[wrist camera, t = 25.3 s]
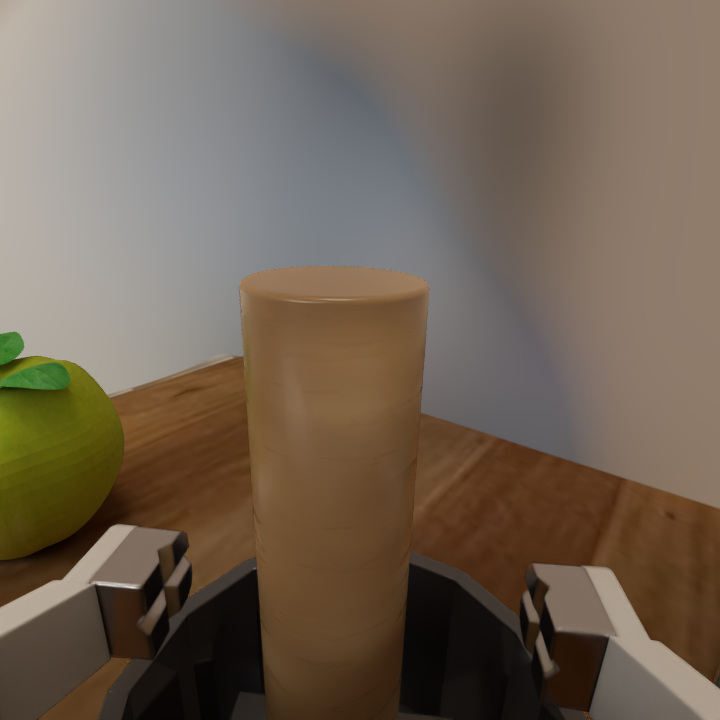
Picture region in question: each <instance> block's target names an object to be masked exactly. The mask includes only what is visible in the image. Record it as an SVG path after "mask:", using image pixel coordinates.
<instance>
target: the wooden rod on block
mask: <svg viewBox="0 0 720 720" xmlns="http://www.w3.org/2000/svg"><path fill="white" fill-rule="evenodd" d="M239 294H240V310H241V326H242V339H243V340H242V341H243V357H244V372H245V388H246V404H247V419H248V435H249V450H250V466H251V482H252V497H253V513H254V529H255V544H256V560H257V575H258V591H259V607H260V622H261V638H262V653H263V669H264V685H265V694H260V693H252V692H244V691H241V692H239V694H238V696H237V699H236V702H235V704H234V707H233V710H232V713H231V716H230V719H229V720H453V718H449V717H441V716H433V715H425V714H417V713H409V712H402V711H399V699H400V685H401V671H402V658H403V644H404V630H405V617H406V603H407V589H408V576H409V562H410V548H411V535H412V521H413V507H414V494H415V480H416V466H417V453H418V439H419V425H420V412H421V397H422V383H423V370H424V357H425V343H426V329H427V316H428V302H429V286H428V284H427V282H426V281H425V280H423V279H420V278H419V277H416V276H413V275H410V274H407V273H402V272H397V271H392V270H385V269H376V268H364V267H348V266H309V267H308V266H307V267H290V268H280V269H273V270H266V271H262V272H258V273H254V274H252V275H249V276H247V277H245V278H243V279H242V280H241V283H240V285H239Z"/></svg>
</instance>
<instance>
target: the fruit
mask: <svg viewBox="0 0 720 720" xmlns="http://www.w3.org/2000/svg"><path fill="white" fill-rule="evenodd" d="M23 348H24V342H23V340H22V338H21V336H20V335H19V334H18V333H17V332H9V333H3V334H0V560H10V559H17V558H21V557H25V556H28V555H30V554H32V553H35V552H37V551H39V550H41V549H43V548H45V547H48V546H50V545H53V544H55V543H58V542H60V541H62V540H64V539H66V538H68V537H70V536H71V535H73V534H74V533H75V532H76V531H78V530H79V529H80V528H81V527H83V526H84V525H85V524H86V523H87V522H88V521H89V520H90V519H91V518H92V516H93V515H94V514H95V513H96V511H97V510H98V509H99V508H100V506H101V505H102V503H103V502H104V500H105V499H106V497H107V495H108V494H109V492H110V490H111V489H112V487H113V485H114V483H115V480H116V478H117V476H118V474H119V471H120V468H121V464H122V460H123V454H124V435H123V429H122V425H121V421H120V419H119V416H118V413H117V411H116V409H115V407H114V405H113V403H112V402H111V400H110V399H109V397H108V396H107V395H106V393H105V392H104V390H103V389H102V388H101V387H100V385H99V384H98V383H97V382H96V381H95V380H94V379H93V378H92V377H91V376H90V375H89V374H88V373H87V372H86V371H85V370H84V369H83V368H81V367H80V366H78V365H77V364H75V363H72V362H69V361H65V360H55V359H51V358H47V357H42V356H31V357H25V358H20V359H15V358H16V357H17V356H18V355H19V354H20V353H21V351H22V350H23ZM13 359H14V360H13Z"/></svg>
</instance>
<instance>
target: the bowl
mask: <svg viewBox="0 0 720 720" xmlns="http://www.w3.org/2000/svg"><path fill="white" fill-rule="evenodd" d="M713 684H714V685H716V686H717V687H718V688H719V689H720V659H719V663H718V667H717V671H716V674H715V678H714V682H713Z"/></svg>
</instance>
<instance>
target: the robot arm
mask: <svg viewBox="0 0 720 720" xmlns="http://www.w3.org/2000/svg"><path fill="white" fill-rule="evenodd" d="M188 547H189V542H188V536H187V533H185V532H184V531H180V530H171V529H162V528H154V527H145V526H132V525H123V524H116V525H114V526H112V527H110V528H109V529H108V530H107V531H106V532H105V533H104V535H103V536H102V537H101V538H100V539H99V540H98V541H97V542H96V543H95V544H94V545H93V547H92V548H91V549H90V550H89V551H88V552H87V553H86V554H85V555H84V556H83V558H82V559H81V560H80V561H79V562H78V563H77V564H76V565H75V566H74V567H73V568H72V570H71V571H70V572H69V573H68V574H67V575H66V576H65V577H64V578H63V579H62V581H60V580H53V581H51V582H49V583H47V584H45V585H43V586H41V587H39V588H38V589H36V590H34V591H32V592H30V593H28V594H26V595H24V596H22V597H20V598H18V599H16V600H14V601H12V602H10V603H8V604H6V605H4V606H2V607H0V720H38V719H39V718H40V717H41V716H42V715H44V714H45V713H46V712H47V711H49V710H50V709H51V708H52V707H53V706H55V705H56V704H57V703H58V702H60V701H61V700H62V699H63V698H64V697H66V696H67V695H68V694H69V693H71V692H72V691H73V690H74V689H75V688H77V687H78V686H79V685H80V684H82V683H83V682H84V681H85V680H86V679H88V678H89V677H90V676H91V675H93V674H94V673H95V672H96V671H98V670H99V669H100V668H101V667H102V666H104V665H105V664H106V663H107V662H109V661H110V659H111V658H110V657H116V658H129V659H141V660H154V658H155V656H156V655H157V653H158V651H159V649H160V647H161V646H162V644H163V642H164V640H165V638H166V637H167V635H168V633H169V631H170V626H169V619H170V618H171V617H173V616H174V615H176V614H177V613H178V612H180V611H181V609H182V608H183V606H184V604H185V602H186V600H187V597H188V594H189V591H190V587H191V583H192V565H191V562H190V561H189V560H188V559H187V558H186V557H185V555H184V554H185V552H186V551H187V549H188ZM525 580H526V583H527V587H528V590H526V591H525V592H524V593H523V594H522V595H521V602H520V628H521V634H522V639H523V643H524V647H525V648H526V649H527V650H528V651H529V652H530V653H531V654H532V655H533V657H532V662H531V668H530V670H531V674H532V678H533V682H534V685H535V689H536V693H537V697H538V701H539V704H540V705H543V706H550V707H557V708H564V709H571V710H578V711H585V712H589V716H590V717H591V718H592V720H720V689H719V688H718V687H717V686H716V685H714V684H713V683H712V682H710V681H709V680H708V679H707V678H705V677H704V676H703V675H702V674H700V673H699V672H698V671H697V670H695V669H694V668H693V667H691V666H690V665H689V664H688V663H686V662H685V661H684V660H683V659H681V658H680V657H679V656H678V655H676V654H675V653H674V652H673V651H671V650H670V649H669V648H667V647H666V646H665V645H664V644H662V643H661V642H660V641H653V640H651V639H650V638H649V636H648V634H647V632H646V630H645V629H644V627H643V625H642V623H641V621H640V620H639V618H638V616H637V614H636V612H635V611H634V609H633V607H632V605H631V603H630V602H629V600H628V598H627V596H626V594H625V593H624V591H623V589H622V587H621V585H620V584H619V582H618V580H617V578H616V576H615V575H614V573H613V571H612V570H610V569H609V568H608V567H596V566H576V565H564V564H552V563H540V562H529V563H528V565H527V568H526V573H525Z"/></svg>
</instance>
